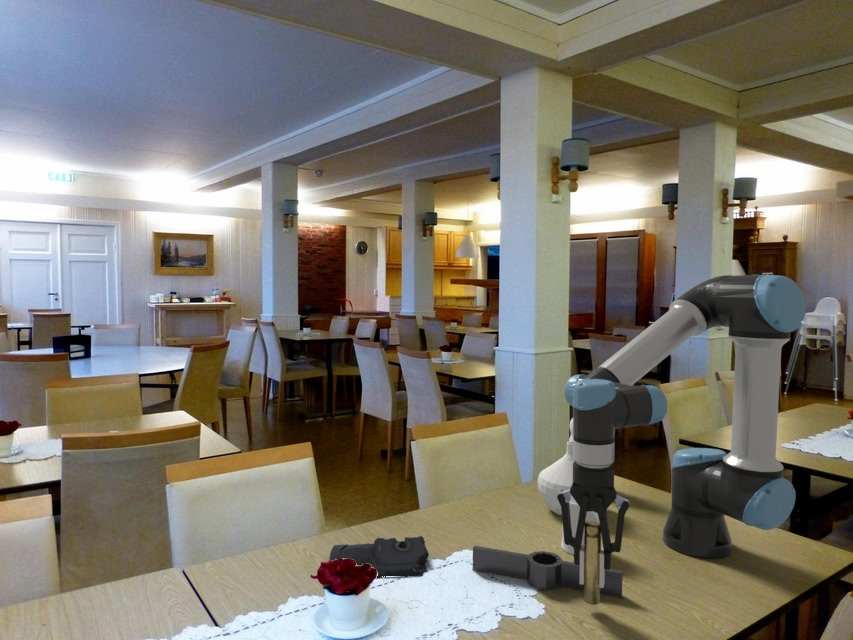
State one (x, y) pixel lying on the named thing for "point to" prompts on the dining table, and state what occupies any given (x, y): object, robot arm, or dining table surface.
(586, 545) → the pin
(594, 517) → the mug
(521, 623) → the dining table surface
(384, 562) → the dark slate chunk
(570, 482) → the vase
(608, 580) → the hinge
